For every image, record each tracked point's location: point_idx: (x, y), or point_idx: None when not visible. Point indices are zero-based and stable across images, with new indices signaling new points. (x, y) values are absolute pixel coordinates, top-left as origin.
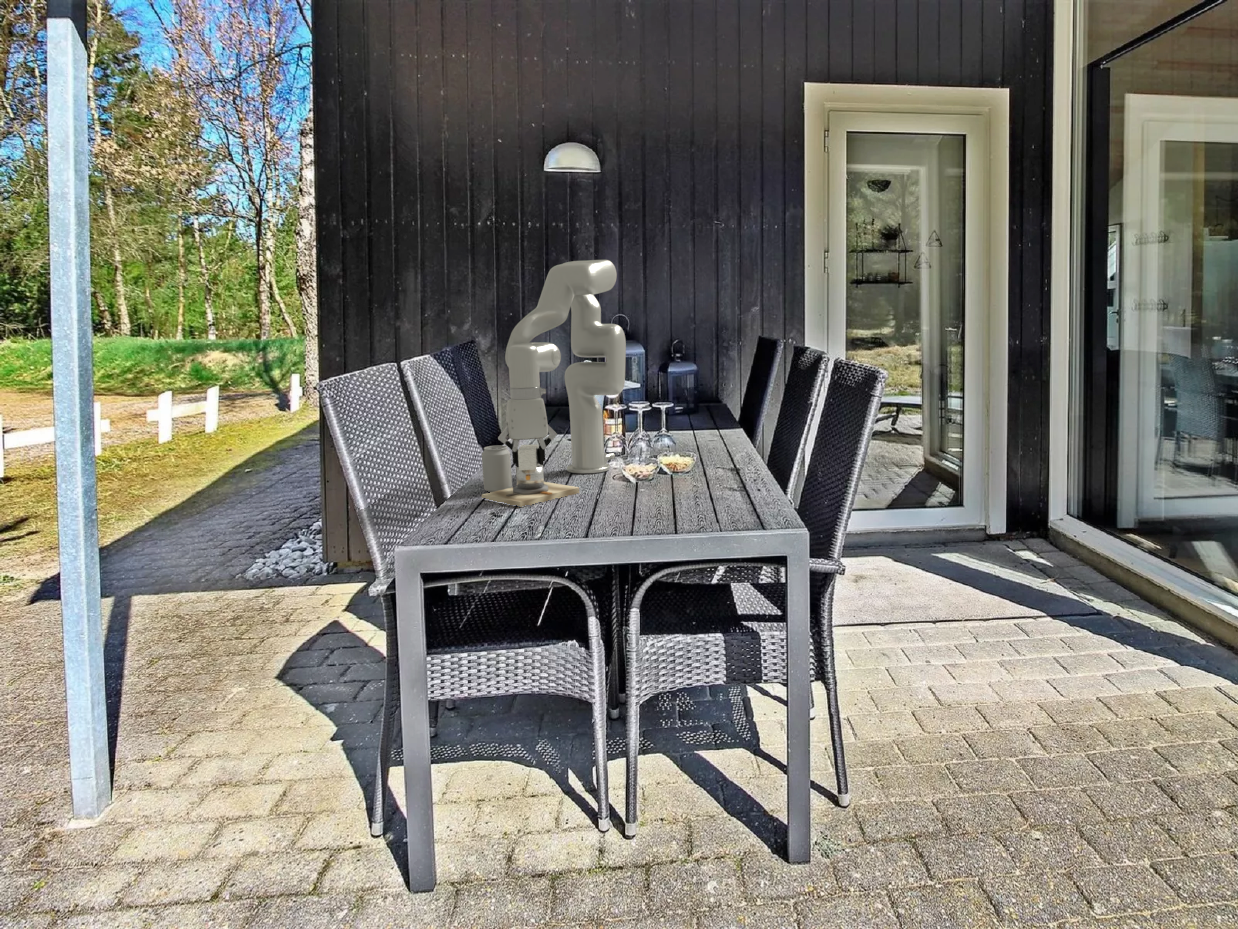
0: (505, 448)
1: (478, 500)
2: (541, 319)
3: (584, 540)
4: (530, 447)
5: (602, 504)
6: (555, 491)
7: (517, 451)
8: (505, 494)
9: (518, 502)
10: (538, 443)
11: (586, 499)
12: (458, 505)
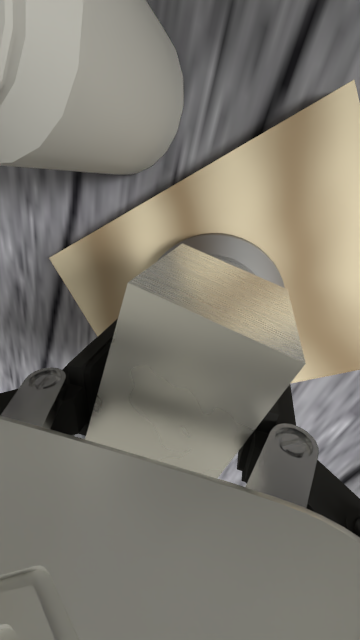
0: (2, 84)
1: (52, 248)
2: None
3: None
4: (171, 450)
5: (355, 494)
6: None
7: (83, 426)
8: (120, 305)
9: None
10: (257, 462)
11: (357, 431)
12: (4, 280)
